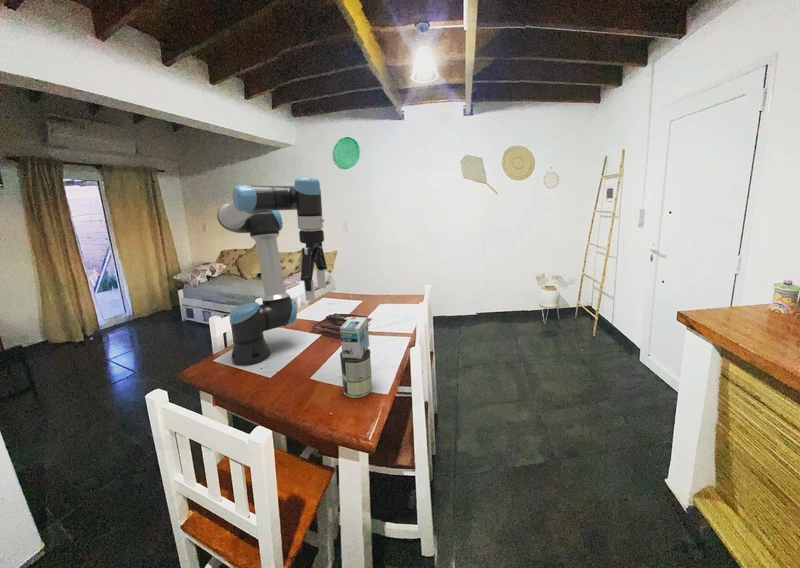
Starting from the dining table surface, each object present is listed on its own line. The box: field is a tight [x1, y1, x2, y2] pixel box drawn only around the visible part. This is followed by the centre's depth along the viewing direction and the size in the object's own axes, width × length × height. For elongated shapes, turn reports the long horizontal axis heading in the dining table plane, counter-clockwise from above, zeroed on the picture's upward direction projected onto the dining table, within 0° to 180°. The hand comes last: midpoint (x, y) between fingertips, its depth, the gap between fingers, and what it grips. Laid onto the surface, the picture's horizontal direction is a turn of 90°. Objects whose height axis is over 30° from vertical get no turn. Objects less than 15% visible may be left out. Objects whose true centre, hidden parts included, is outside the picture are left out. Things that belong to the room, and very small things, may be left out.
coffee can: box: [339, 347, 373, 399], centre depth 108 cm, size 10×10×14 cm
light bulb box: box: [339, 316, 370, 359], centre depth 106 cm, size 11×7×11 cm, turn 170°
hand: (316, 293), depth 105 cm, fingers open, 13 cm apart
